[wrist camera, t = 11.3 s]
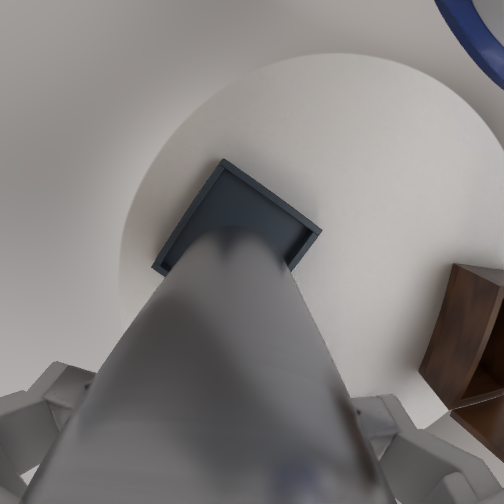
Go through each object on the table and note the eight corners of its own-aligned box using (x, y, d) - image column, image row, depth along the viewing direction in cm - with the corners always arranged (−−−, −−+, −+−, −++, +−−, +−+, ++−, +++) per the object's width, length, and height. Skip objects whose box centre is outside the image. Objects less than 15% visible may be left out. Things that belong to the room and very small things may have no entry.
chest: (453, 263, 28) (499, 286, 20) (506, 270, 29) (547, 289, 21) (417, 371, 32) (448, 410, 24) (474, 364, 32) (505, 394, 24)
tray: (224, 159, 25) (223, 158, 24) (317, 226, 27) (322, 230, 25) (156, 261, 27) (150, 267, 25) (245, 320, 29) (245, 329, 27)
